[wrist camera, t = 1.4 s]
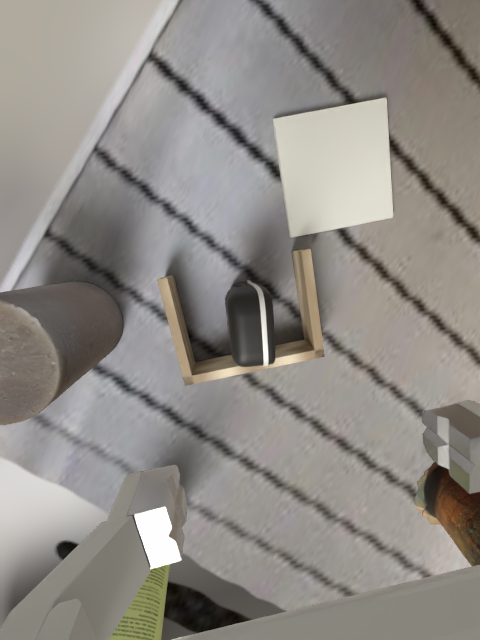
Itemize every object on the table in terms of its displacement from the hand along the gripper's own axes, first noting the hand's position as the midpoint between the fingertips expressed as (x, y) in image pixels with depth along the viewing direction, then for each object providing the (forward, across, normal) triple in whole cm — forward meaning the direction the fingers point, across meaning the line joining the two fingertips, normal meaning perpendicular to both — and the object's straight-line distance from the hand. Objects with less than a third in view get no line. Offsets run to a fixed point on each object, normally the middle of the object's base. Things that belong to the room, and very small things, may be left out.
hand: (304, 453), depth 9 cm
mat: (+25, -13, -13) cm, 31 cm away
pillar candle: (+26, +18, -2) cm, 32 cm away
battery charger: (+26, 0, 0) cm, 26 cm away
